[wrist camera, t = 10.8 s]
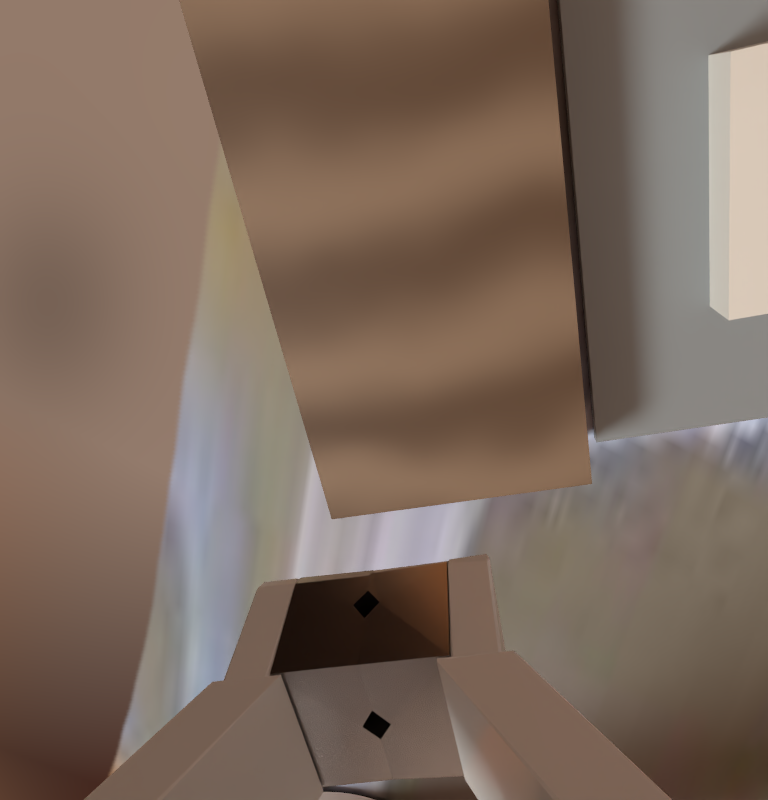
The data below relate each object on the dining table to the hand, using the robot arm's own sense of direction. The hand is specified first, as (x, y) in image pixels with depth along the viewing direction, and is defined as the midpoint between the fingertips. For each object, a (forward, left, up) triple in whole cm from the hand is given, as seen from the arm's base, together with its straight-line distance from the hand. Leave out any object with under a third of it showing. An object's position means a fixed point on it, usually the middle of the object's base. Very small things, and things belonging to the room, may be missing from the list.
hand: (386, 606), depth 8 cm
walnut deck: (0, 0, -22) cm, 22 cm away
